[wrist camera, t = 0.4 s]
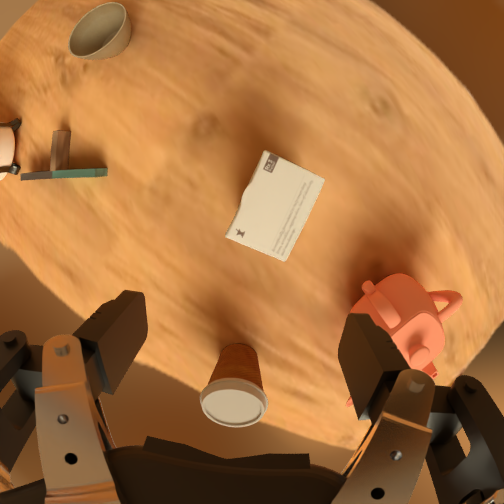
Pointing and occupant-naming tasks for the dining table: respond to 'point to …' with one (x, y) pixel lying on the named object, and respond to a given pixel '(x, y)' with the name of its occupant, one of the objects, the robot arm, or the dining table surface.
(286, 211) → the skincare box
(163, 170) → the dining table surface
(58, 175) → the t-shaped slab assembly
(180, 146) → the dining table surface
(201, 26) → the dining table surface
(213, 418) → the disposable coffee cup
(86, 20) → the flower pot
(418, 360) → the teapot
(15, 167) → the coffee press
